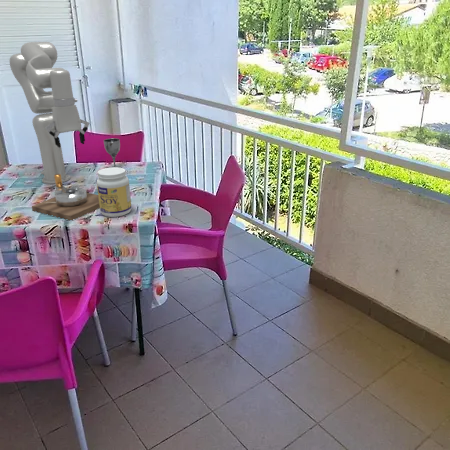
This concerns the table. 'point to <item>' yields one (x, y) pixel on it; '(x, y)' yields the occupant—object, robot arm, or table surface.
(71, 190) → the silver and gold piece
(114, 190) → the supplement tub
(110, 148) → the wine glass
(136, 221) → the table surface
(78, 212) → the nut board
